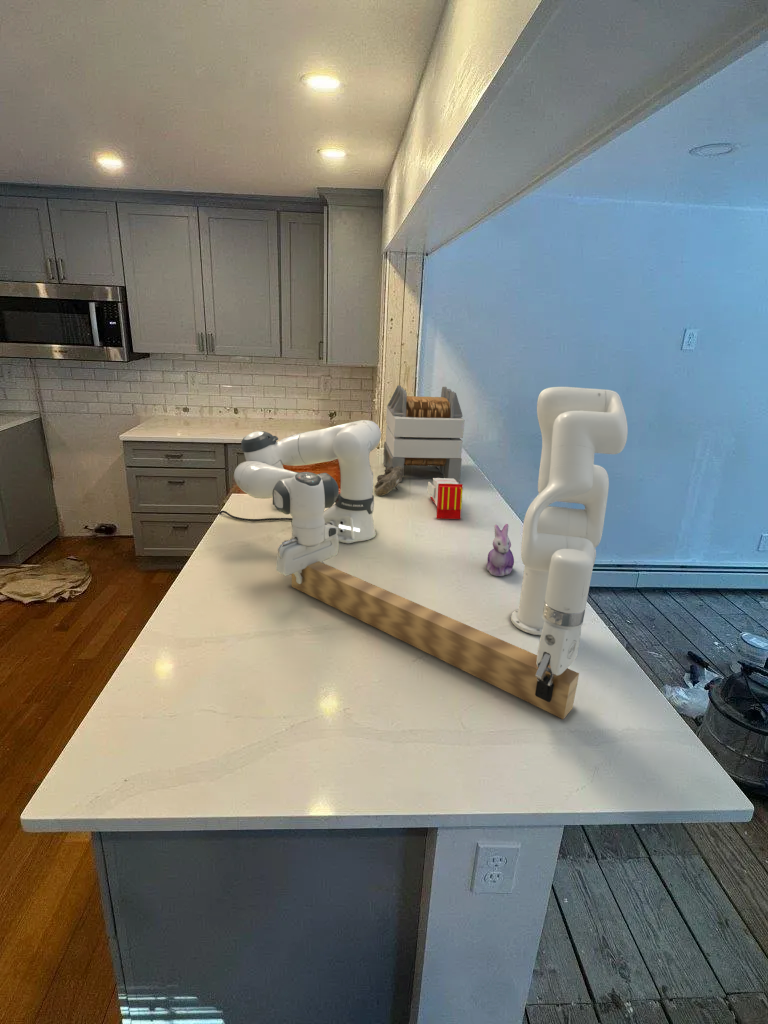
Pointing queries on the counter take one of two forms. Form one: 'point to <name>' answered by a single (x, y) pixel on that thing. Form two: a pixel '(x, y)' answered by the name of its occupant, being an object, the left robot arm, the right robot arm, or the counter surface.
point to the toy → (446, 497)
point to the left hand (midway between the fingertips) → (308, 579)
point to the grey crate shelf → (424, 432)
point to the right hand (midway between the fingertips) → (550, 690)
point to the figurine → (500, 553)
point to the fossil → (388, 480)
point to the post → (439, 636)
